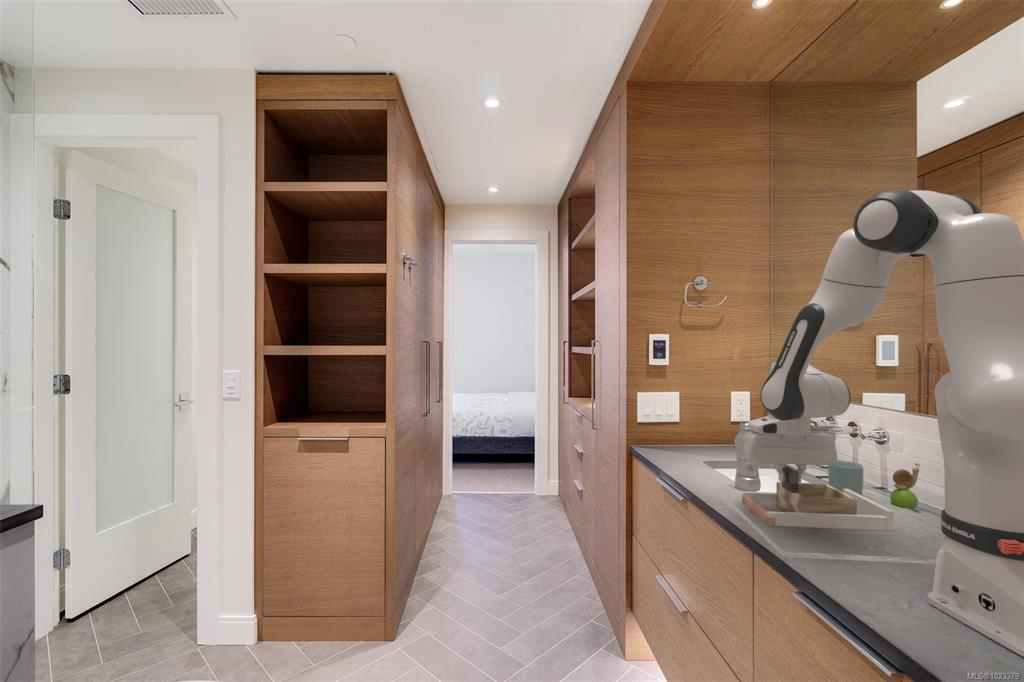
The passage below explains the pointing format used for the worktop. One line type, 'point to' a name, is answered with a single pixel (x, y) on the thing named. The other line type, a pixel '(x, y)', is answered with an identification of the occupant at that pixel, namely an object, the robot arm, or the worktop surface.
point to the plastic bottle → (745, 464)
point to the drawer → (812, 497)
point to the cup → (846, 476)
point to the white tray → (822, 514)
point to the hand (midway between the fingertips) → (789, 481)
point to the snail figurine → (905, 488)
